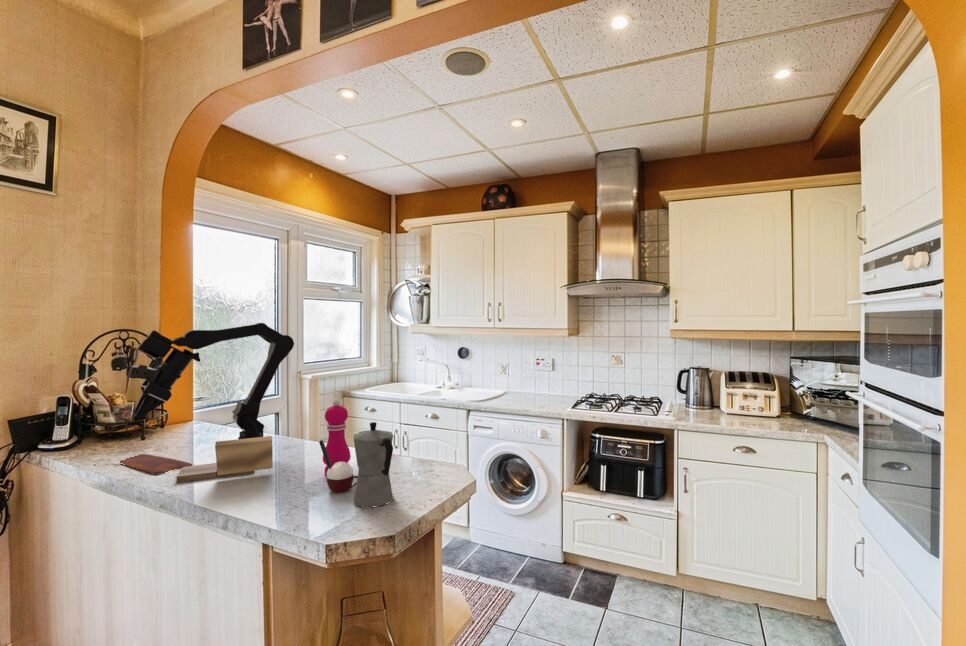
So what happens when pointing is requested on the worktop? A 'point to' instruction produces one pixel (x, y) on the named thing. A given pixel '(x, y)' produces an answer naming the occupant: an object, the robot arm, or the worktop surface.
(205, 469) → the weathered wooden board
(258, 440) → the oak plank
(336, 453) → the pepper mill
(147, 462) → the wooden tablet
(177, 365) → the robot arm
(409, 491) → the worktop surface
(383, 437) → the coffeepot
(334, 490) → the cocoa
